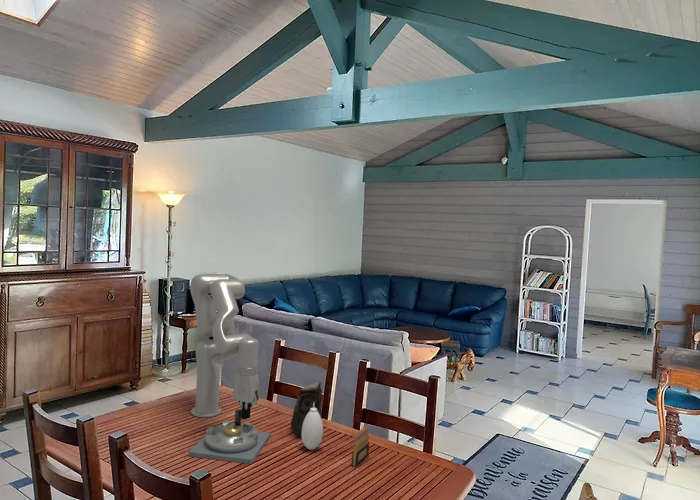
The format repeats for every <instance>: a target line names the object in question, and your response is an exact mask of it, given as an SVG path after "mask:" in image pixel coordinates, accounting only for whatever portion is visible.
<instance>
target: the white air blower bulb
mask: <svg viewBox="0 0 700 500" xmlns="http://www.w3.org/2000/svg"><path fill="white" fill-rule="evenodd" d="M301 436H302V439H301V440H302V443H303V446H305V448H306V449H308V450H310V451H313V450H315V449H316V448H318V447H319V445H320V444H321V442H322V440H323V436H324V426H323V421H322V417H320V415H319V413H318V411H317V408H314V403H313V408H310V411H309V412H308V414H307V415H306V417H305V419H304V422H303V425H302V432H301Z"/></svg>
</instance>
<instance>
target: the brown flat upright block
mask: <svg viewBox="0 0 700 500" xmlns="http://www.w3.org/2000/svg"><path fill="white" fill-rule="evenodd" d="M369 432H370V431H369V425H368V424H366V425H365V426H364V427H362V429H361V428H360V430H358V432H356V433H355V436H354V442H353V451H352V452H351V453H352V454H351V455H352V456H351V467H354V468H357V467H359V466H360V465H361V463H362V462H364V461H365V460H366V459H368V457H369V454H370V453H369V451H370V442H369V438H370V437H369V436H370V435H369Z"/></svg>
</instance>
